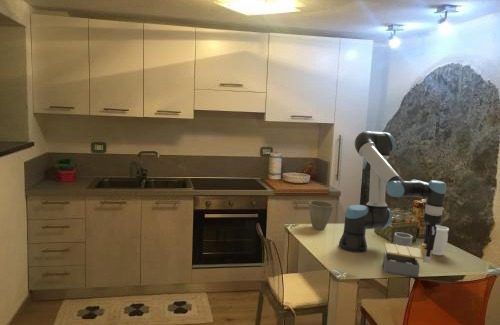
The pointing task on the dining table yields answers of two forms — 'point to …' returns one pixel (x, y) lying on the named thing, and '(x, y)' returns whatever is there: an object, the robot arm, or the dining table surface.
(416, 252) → the lid
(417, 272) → the tub
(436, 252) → the jar
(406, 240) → the cup
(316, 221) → the plant pot
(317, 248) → the dining table surface
